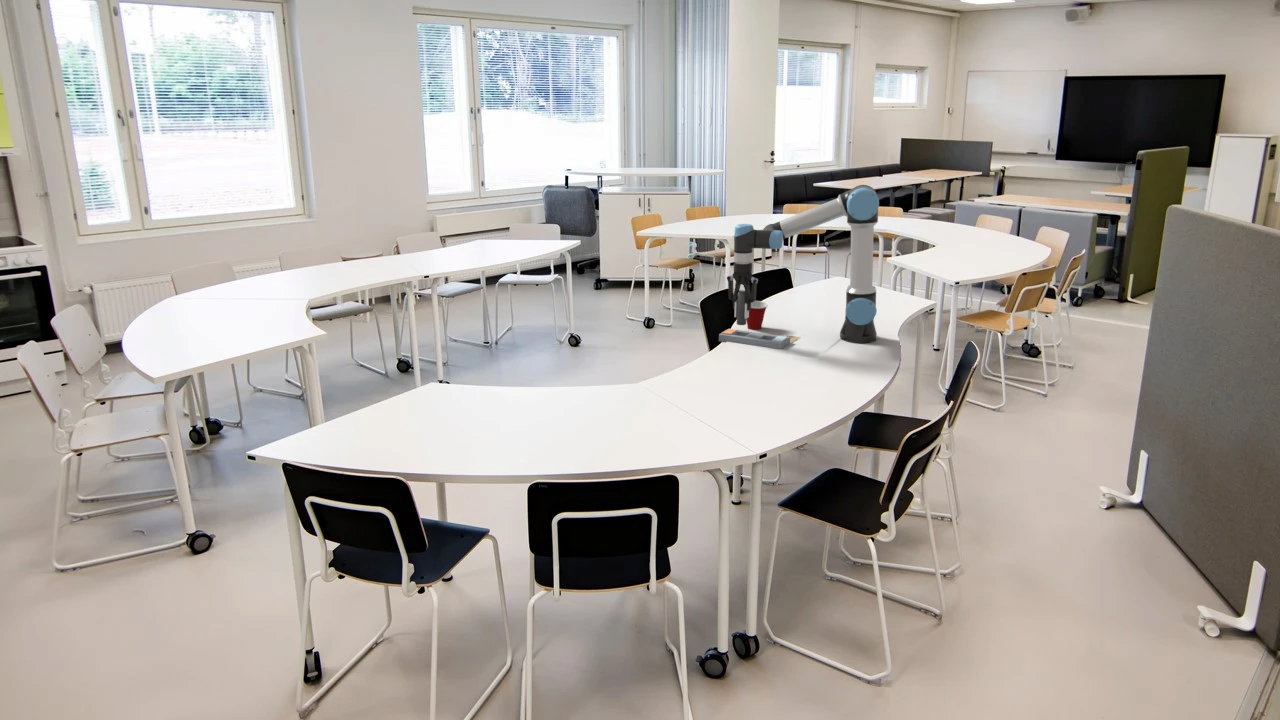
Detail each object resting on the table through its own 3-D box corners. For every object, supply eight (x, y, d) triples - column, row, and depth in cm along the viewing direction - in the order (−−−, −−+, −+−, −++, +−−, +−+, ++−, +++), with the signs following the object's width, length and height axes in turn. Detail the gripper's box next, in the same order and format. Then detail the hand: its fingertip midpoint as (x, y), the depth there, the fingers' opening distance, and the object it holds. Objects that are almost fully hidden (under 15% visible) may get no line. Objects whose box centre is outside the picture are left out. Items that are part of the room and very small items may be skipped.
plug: (747, 323, 348) (748, 291, 343) (743, 325, 345) (744, 293, 340) (739, 322, 350) (739, 289, 345) (735, 324, 347) (735, 291, 342)
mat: (800, 338, 351) (800, 337, 351) (792, 344, 343) (792, 343, 343) (778, 335, 356) (778, 334, 356) (769, 341, 348) (769, 339, 348)
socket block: (790, 344, 344) (790, 336, 343) (780, 350, 336) (781, 342, 334) (729, 335, 357) (729, 327, 356) (718, 341, 349) (719, 333, 348)
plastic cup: (758, 334, 359) (759, 307, 355) (737, 330, 365) (738, 303, 362) (771, 328, 367) (772, 302, 363) (751, 324, 373) (751, 298, 369)
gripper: (765, 262, 338) (763, 317, 345) (728, 258, 346) (727, 312, 354) (758, 265, 332) (756, 321, 339) (720, 261, 340) (719, 316, 347)
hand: (741, 317), depth 346 cm, fingers closed on plug, 4 cm apart
